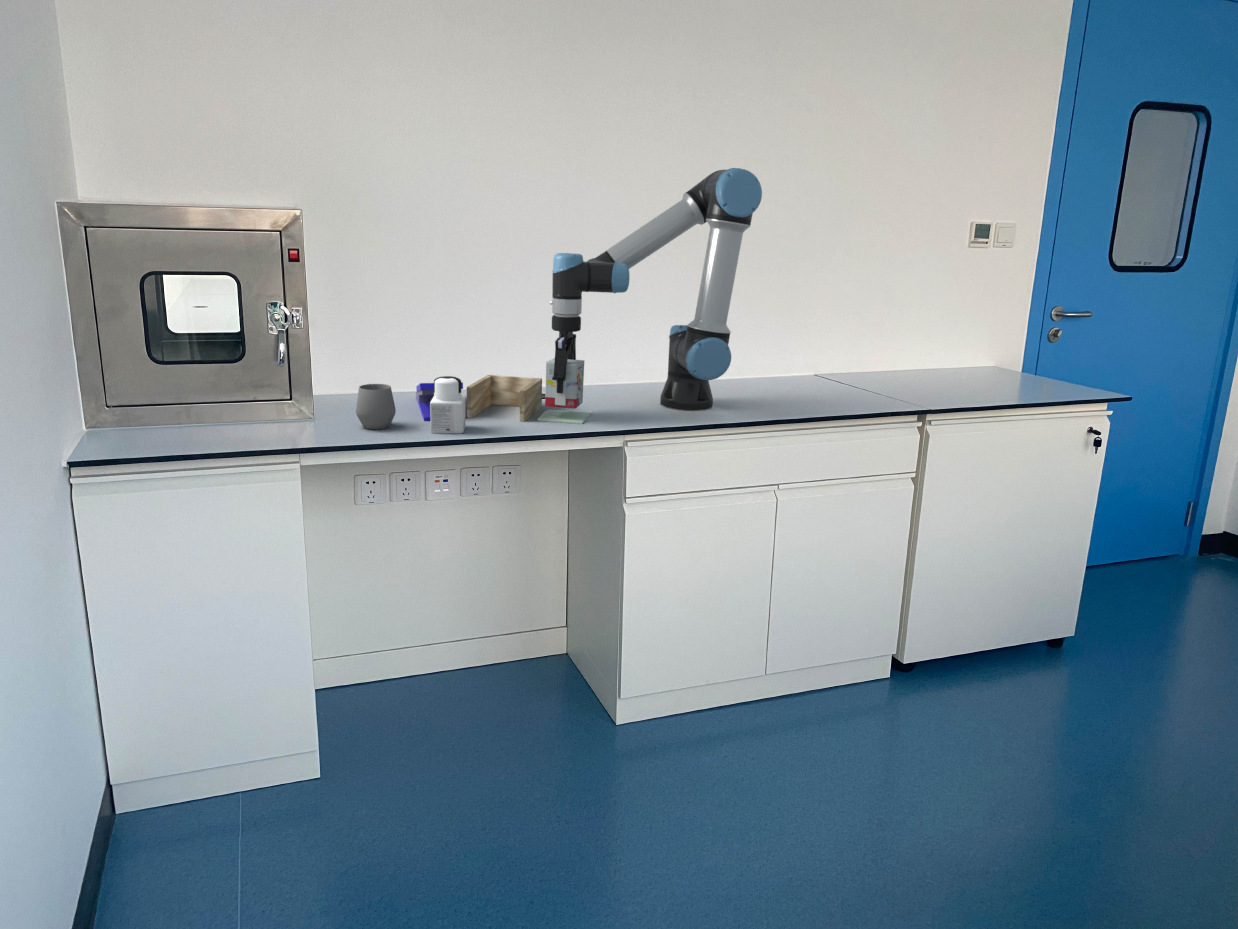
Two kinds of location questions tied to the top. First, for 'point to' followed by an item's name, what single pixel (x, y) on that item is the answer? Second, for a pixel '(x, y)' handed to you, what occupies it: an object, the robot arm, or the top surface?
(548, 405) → the ink box
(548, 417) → the mat
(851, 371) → the top surface
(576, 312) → the robot arm
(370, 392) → the cup
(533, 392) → the u-shaped enclosure
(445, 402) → the container
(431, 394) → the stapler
